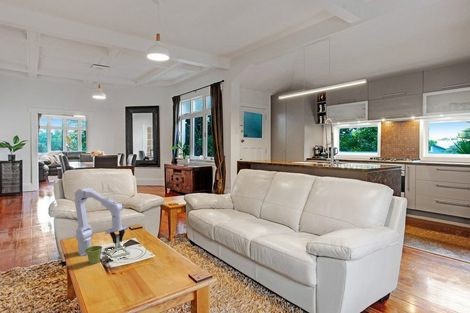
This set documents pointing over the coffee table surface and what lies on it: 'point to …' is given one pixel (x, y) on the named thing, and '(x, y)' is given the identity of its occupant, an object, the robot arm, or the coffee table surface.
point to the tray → (118, 254)
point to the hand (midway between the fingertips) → (117, 242)
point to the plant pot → (94, 254)
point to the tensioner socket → (110, 248)
